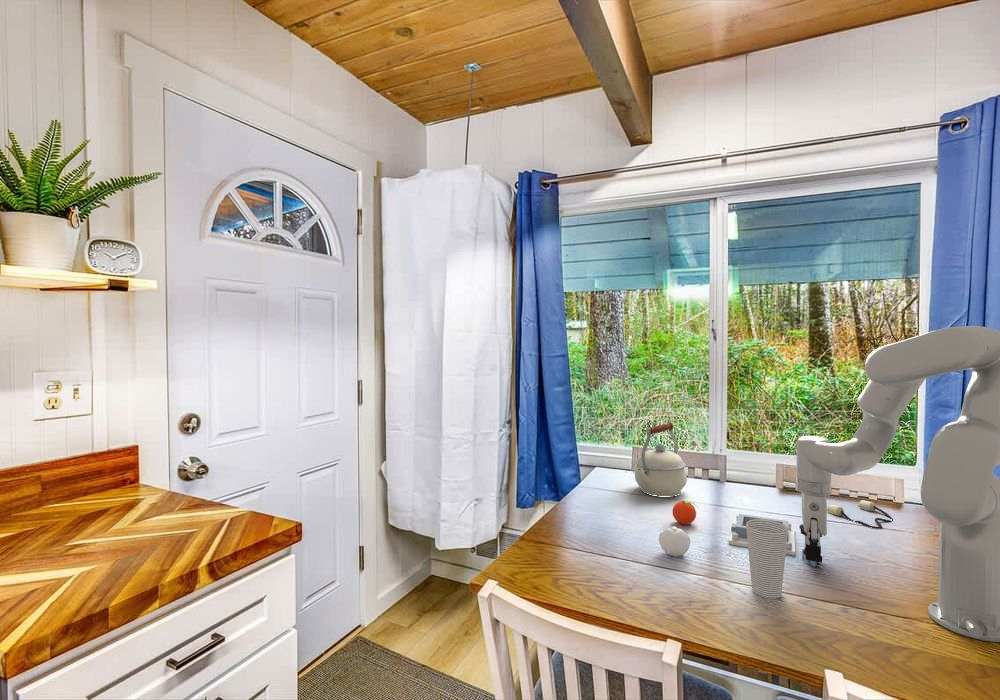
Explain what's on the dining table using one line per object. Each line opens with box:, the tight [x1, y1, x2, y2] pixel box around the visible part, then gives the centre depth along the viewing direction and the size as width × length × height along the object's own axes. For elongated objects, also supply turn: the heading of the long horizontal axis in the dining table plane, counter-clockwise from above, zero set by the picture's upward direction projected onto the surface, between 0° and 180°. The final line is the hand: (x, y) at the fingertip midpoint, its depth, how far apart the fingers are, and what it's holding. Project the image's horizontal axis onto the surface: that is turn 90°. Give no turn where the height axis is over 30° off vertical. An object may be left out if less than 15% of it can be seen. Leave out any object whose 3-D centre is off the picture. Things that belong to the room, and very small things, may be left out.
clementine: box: [672, 500, 699, 525], centre depth 156 cm, size 8×7×7 cm
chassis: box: [728, 513, 796, 556], centre depth 144 cm, size 18×16×4 cm
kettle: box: [634, 422, 688, 496], centre depth 185 cm, size 25×18×25 cm
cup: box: [746, 519, 788, 600], centre depth 115 cm, size 8×8×16 cm
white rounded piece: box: [658, 525, 691, 558], centre depth 134 cm, size 8×8×8 cm
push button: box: [798, 523, 825, 569], centre depth 128 cm, size 7×5×10 cm
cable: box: [827, 499, 894, 529], centre depth 158 cm, size 16×16×4 cm
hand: (812, 554), depth 128 cm, fingers closed on push button, 5 cm apart
